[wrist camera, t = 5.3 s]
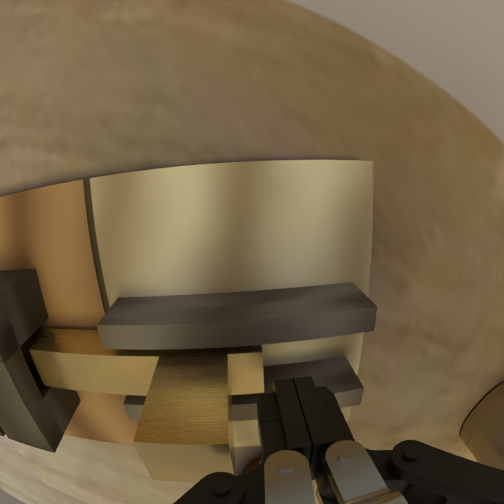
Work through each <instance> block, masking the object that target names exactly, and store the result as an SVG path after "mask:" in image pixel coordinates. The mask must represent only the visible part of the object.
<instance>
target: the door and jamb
mask: <svg viewBox="0 0 504 504" xmlns="http://www.w3.org/2000/svg"><path fill="white" fill-rule="evenodd" d="M372 234H373V161H359V160H272V161H247V162H229V163H214V164H201V165H189V166H179V167H169V168H160V169H151V170H143V171H135V172H127V173H120V174H113V175H107V176H100V177H94V178H89V179H82V180H76V181H71V182H66V183H60V184H55V185H50V186H45V187H41V188H36V189H31V190H27V191H22V192H18V193H14V194H10V195H6V196H2V197H0V435H1V436H4V435H5V434H6V435H7V437H8V438H9V439H12V440H15V441H17V442H20V443H23V444H26V445H30V446H33V447H36V448H39V449H43V450H46V451H50V452H54V453H55V451H56V449H57V447H58V445H59V443H60V441H61V439H62V437H63V435H64V434H65V435H70V436H75V437H80V438H86V439H91V440H98V441H104V442H112V443H120V444H129V445H134V443H133V440H134V436H135V433H136V429H137V426H138V423H139V419H140V416H141V413H142V409H143V406H144V403H145V399H146V396H139V395H121V394H108V393H97V392H87V391H78V390H70V389H63V388H56V387H50V386H44V384H43V381H42V379H41V377H40V375H39V373H38V370H37V368H36V366H35V363H34V361H33V359H32V356H31V354H30V351H29V349H30V348H31V347H32V345H33V344H34V343H35V342H36V341H37V340H38V339H39V338H40V337H41V336H42V335H43V334H44V333H45V332H46V331H47V330H48V329H72V330H98V332H99V335H100V339H101V342H102V345H103V349H138V350H159V349H201V348H222V347H238V346H252V345H262V351H263V372H264V393H273V380H278V379H288V378H296V377H304V376H311V377H312V379H313V381H314V384H315V386H316V387H322V386H326V387H327V388H328V389H329V390H330V391H331V392H333V393H334V395H335V397H336V400H337V402H338V404H339V406H340V409H341V412H342V413H343V415H344V418H345V420H346V422H347V424H348V420H349V415H350V411H351V406H354V405H358V404H360V402H361V398H362V393H363V389H364V387H363V386H362V384H361V382H360V380H359V379H358V377H357V375H358V369H359V363H360V356H361V350H362V343H363V336H364V332H369V331H374V326H375V318H376V311H377V306H376V305H375V304H374V303H373V302H372V301H371V300H370V299H369V298H368V293H369V281H370V269H371V254H372ZM264 393H253V394H239V395H232V406H233V434H234V447H246V446H259V445H260V440H259V432H258V417H257V402H258V399H259V397H260V395H261V394H264Z"/></svg>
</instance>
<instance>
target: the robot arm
mask: <svg viewBox="0 0 504 504" xmlns="http://www.w3.org/2000/svg"><path fill="white" fill-rule="evenodd" d="M257 417H258V432H259V440H260V447H261V455H262V461H261V463H260V464H259V465H258V467H256V468H255V469H254V470H252V471H250V472H247V473H244V474H241V475H238V476H235V475H234V474H231V473H228V472H214V473H211V474H208V475H206V476H205V477H203V478H202V479H201V480H200V481H199V482H198V483H197V484H195V485H194V486H193V487H192V488H191V489H190V490H189V491H188V492H186V493H185V494H184V495H183V496H182V497H181V498H179V499H178V500H177V501H176V502H175V503H173V504H315V498H314V492H313V485H312V480H314V479H316V483H317V487H318V488H317V492H316V495H317V499H318V501H319V504H504V383H502V384H500V385H499V386H497V387H496V388H495V389H494V390H492V391H491V392H490V393H489V394H488V395H487V396H486V397H485V398H484V399H483V400H482V401H481V402H480V403H479V404H478V405H477V406H476V408H475V409H474V410H473V411H472V413H471V414H470V415H469V417H468V418H467V420H466V421H465V423H464V425H463V427H462V429H461V432H460V438H461V439H462V440H463V442H464V443H465V444H466V446H467V447H468V449H469V450H470V451H471V453H472V454H473V455H474V457H475V458H476V460H477V461H478V462H474V461H471V460H468V459H465V458H462V457H459V456H457V455H454V454H451V453H448V452H445V451H443V450H440V449H437V448H434V447H432V446H429V445H427V444H424V443H421V442H419V441H415V440H406V441H402V442H400V443H398V444H397V445H396V446H395V447H394V448H393V450H369V449H366V448H364V447H363V446H362V445H361V444H360V443H358V442H356V441H355V440H354V438H353V436H352V434H351V431H350V429H349V427H348V425H347V422H346V420H345V418H344V415H343V413H342V412H341V409H340V406H339V404H338V402H337V400H336V397H335V395H334V393H333V392H331V391H330V390H329V389H328V388H327V387H326V386H322V387H316V386H315V384H314V381H313V379H312V377H311V376H304V377H296V378H288V379H278V380H273V393H264V394H261V395H260V397H259V399H258V402H257Z"/></svg>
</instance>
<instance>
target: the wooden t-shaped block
mask: <svg viewBox="0 0 504 504" xmlns="http://www.w3.org/2000/svg"><path fill="white" fill-rule="evenodd" d="M29 351H30V354H31V356H32V359H33V361H34V363H35V366H36V368H37V370H38V373H39V375H40V377H41V379H42V381H43V384H44V386H50V387H56V388H63V389H70V390H78V391H87V392H97V393H108V394H121V395H139V396H146V399H145V403H144V406H143V409H142V413H141V416H140V419H139V423H138V426H137V429H136V433H135V436H134V440H133V443H134V445H135V447H136V449H137V451H138V453H139V455H140V457H141V459H142V461H143V463H144V464H145V466H146V468H147V470H148V472H149V474H150V476H151V477H152V479H153V480H163V481H180V482H199V481H200V480H201V479H202V478H203V477H205V476H206V475H208V474H211V473H214V472H228V473H231V474H234V475H235V459H234V434H233V406H232V395H239V394H253V393H264V372H263V351H262V345H252V346H238V347H222V348H201V349H159V350H138V349H103V345H102V342H101V339H100V335H99V332H98V330H72V329H48V330H47V331H46V332H45V333H44V334H43V335H42V336H41V337H40V338H39V339H38V340H37V341H36V342H35V343H34V344H33V345H32V347H31V348H30V349H29Z"/></svg>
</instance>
